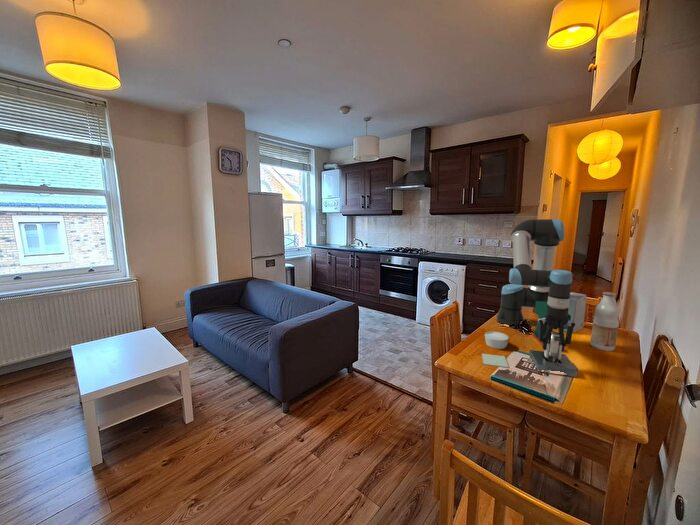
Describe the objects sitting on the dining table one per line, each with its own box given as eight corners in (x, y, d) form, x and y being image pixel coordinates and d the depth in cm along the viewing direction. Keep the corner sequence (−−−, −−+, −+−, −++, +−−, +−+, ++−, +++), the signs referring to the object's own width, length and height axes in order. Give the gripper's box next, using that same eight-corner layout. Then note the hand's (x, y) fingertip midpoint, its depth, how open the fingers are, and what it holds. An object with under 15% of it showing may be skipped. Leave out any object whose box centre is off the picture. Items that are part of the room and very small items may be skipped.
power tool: (579, 366, 128) (584, 323, 125) (561, 365, 129) (566, 322, 126) (546, 336, 159) (549, 301, 155) (532, 335, 160) (535, 300, 157)
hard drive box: (568, 323, 176) (571, 291, 173) (583, 327, 170) (587, 294, 167) (557, 329, 168) (560, 296, 164) (573, 333, 162) (577, 299, 158)
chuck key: (548, 369, 125) (552, 336, 123) (543, 360, 133) (546, 329, 130) (559, 370, 124) (563, 337, 121) (553, 361, 131) (557, 330, 129)
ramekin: (494, 338, 157) (494, 329, 156) (513, 347, 147) (514, 337, 146) (479, 343, 152) (479, 333, 151) (498, 352, 142) (498, 342, 142)
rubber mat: (481, 354, 140) (481, 353, 140) (504, 357, 137) (504, 356, 137) (483, 364, 131) (483, 363, 131) (508, 367, 128) (508, 367, 128)
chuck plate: (529, 356, 137) (529, 349, 137) (564, 361, 133) (564, 354, 132) (537, 371, 124) (538, 364, 123) (576, 377, 120) (577, 369, 119)
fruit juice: (593, 349, 144) (600, 294, 139) (588, 341, 152) (594, 289, 147) (617, 352, 139) (626, 296, 135) (611, 345, 148) (619, 291, 143)
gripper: (537, 307, 123) (532, 358, 127) (585, 311, 117) (578, 364, 121) (532, 302, 130) (528, 350, 134) (578, 305, 124) (571, 356, 128)
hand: (552, 357), depth 128 cm, fingers closed on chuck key, 4 cm apart
